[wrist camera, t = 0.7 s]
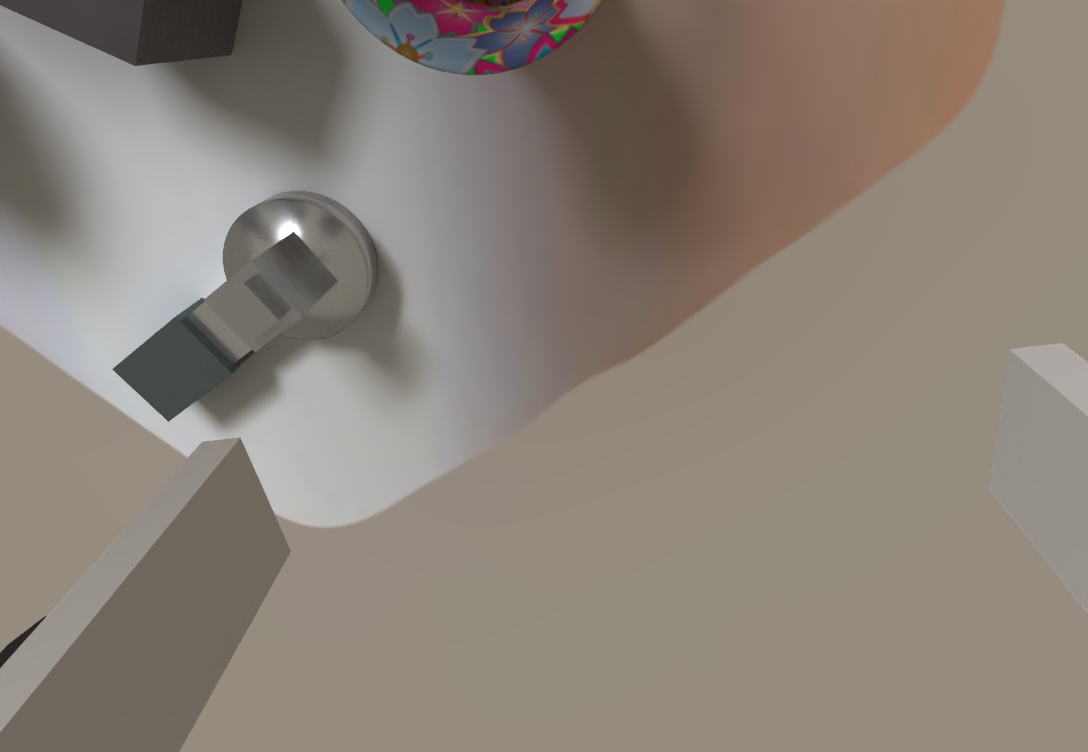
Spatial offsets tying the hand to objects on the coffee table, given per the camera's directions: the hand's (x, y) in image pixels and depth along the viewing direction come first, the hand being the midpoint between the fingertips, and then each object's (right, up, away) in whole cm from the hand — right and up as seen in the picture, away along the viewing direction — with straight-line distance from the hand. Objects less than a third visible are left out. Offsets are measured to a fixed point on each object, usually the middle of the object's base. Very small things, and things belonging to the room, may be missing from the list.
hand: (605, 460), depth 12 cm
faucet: (-16, +5, +24) cm, 30 cm away
